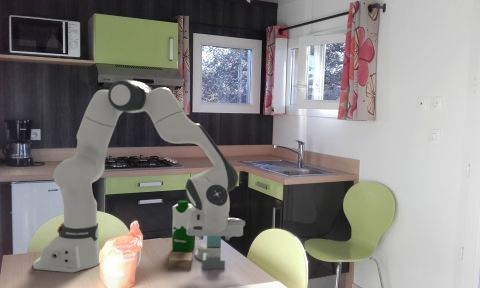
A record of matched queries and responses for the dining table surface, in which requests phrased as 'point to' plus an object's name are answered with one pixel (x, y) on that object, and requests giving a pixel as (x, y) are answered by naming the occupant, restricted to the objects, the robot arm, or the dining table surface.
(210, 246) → the block
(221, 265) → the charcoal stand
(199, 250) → the mechanical component
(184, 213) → the milk carton
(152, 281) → the dining table surface
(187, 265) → the walnut stand
